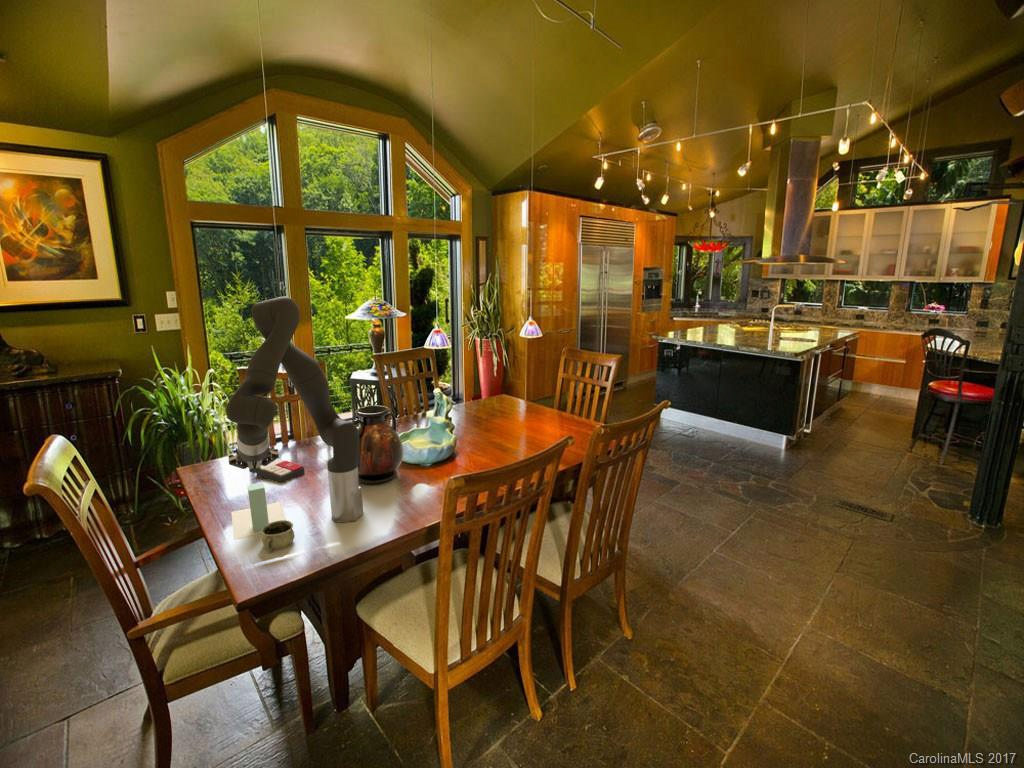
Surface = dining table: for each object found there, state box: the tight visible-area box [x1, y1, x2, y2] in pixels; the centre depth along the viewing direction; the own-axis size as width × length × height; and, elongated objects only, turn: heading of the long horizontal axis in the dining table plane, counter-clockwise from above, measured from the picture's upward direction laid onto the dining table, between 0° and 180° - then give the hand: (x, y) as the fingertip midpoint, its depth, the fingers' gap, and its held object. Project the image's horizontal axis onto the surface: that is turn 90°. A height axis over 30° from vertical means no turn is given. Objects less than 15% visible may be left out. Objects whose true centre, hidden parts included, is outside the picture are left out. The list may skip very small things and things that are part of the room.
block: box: [247, 482, 269, 533], centre depth 154 cm, size 4×4×14 cm
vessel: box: [260, 519, 296, 554], centre depth 146 cm, size 12×9×6 cm
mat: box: [230, 501, 287, 541], centre depth 161 cm, size 20×15×1 cm
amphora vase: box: [351, 405, 405, 486], centre depth 192 cm, size 22×22×28 cm
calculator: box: [255, 458, 305, 484], centre depth 197 cm, size 11×4×15 cm
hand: (254, 470), depth 144 cm, fingers closed
